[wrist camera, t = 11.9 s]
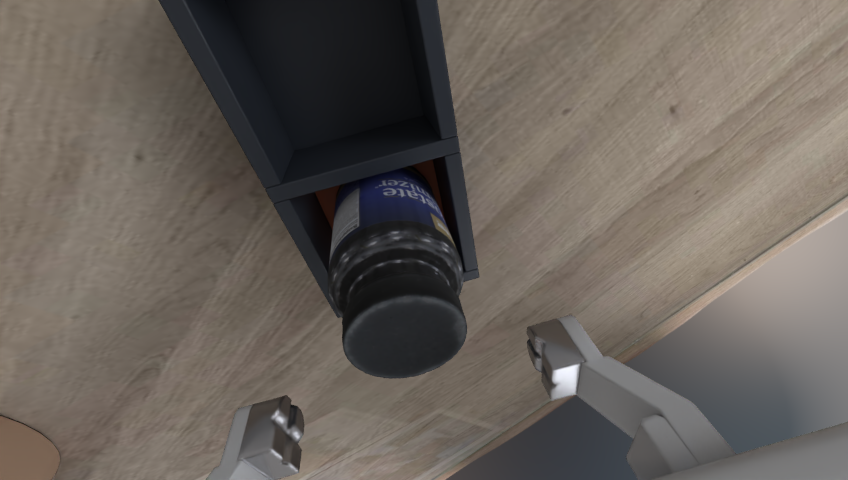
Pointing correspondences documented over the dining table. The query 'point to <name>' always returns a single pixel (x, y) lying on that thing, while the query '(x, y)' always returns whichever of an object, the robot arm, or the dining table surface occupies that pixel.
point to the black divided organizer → (331, 103)
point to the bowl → (25, 453)
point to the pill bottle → (395, 276)
